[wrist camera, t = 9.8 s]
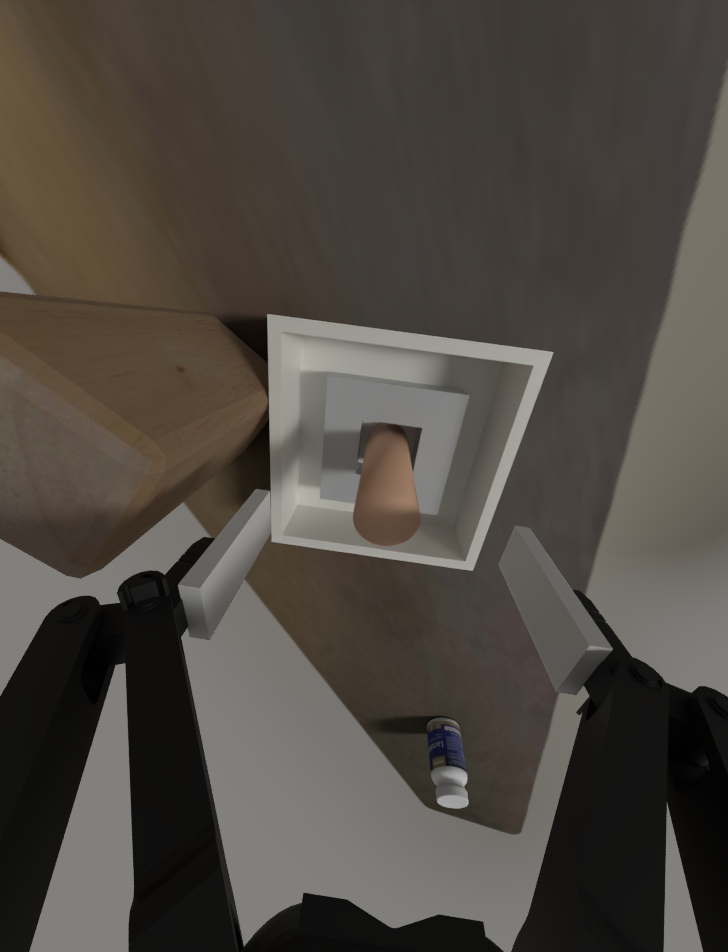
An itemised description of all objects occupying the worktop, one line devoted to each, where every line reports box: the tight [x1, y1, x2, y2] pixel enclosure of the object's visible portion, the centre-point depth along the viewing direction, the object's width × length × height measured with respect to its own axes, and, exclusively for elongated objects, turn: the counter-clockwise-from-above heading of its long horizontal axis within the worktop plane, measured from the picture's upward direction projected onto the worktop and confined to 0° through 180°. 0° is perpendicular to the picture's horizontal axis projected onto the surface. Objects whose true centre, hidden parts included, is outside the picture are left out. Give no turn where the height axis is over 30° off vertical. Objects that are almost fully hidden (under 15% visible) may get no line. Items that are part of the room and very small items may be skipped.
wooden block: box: [0, 292, 269, 579], centre depth 21 cm, size 10×10×20 cm
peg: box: [353, 423, 420, 546], centre depth 24 cm, size 4×4×14 cm
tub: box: [267, 314, 553, 571], centre depth 28 cm, size 20×20×7 cm
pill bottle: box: [427, 717, 468, 808], centre depth 50 cm, size 6×6×10 cm
